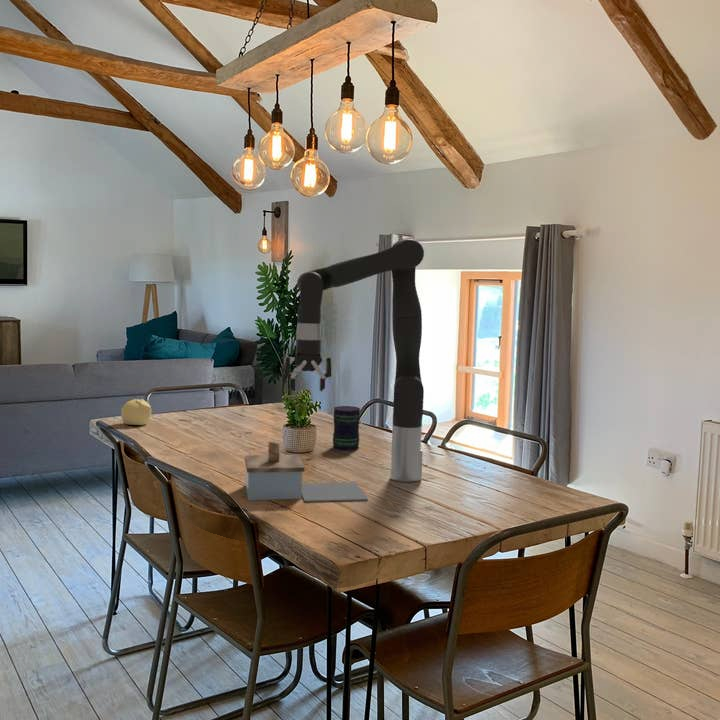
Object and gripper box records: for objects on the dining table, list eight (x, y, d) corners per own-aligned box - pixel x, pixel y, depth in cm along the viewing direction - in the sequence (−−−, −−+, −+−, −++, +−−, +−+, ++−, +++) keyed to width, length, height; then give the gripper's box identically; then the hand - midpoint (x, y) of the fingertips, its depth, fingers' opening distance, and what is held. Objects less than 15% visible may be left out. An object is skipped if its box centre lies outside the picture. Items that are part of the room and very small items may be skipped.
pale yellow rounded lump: (154, 426, 316) (155, 400, 315) (125, 428, 310) (125, 401, 309) (147, 421, 326) (147, 395, 324) (118, 423, 320) (118, 397, 318)
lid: (297, 458, 233) (298, 436, 232) (304, 471, 218) (305, 448, 217) (244, 459, 230) (244, 437, 229) (247, 472, 214) (247, 448, 214)
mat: (355, 483, 237) (355, 482, 237) (367, 500, 219) (367, 499, 219) (297, 485, 233) (297, 483, 233) (304, 502, 215) (304, 500, 215)
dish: (295, 484, 233) (296, 458, 233) (301, 498, 219) (302, 471, 218) (245, 485, 230) (245, 459, 230) (248, 500, 216) (248, 472, 215)
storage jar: (358, 451, 281) (360, 411, 280) (331, 450, 282) (332, 410, 280) (359, 445, 291) (360, 406, 290) (333, 444, 292) (334, 405, 290)
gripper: (329, 337, 239) (328, 389, 241) (283, 336, 236) (282, 388, 238) (333, 339, 232) (332, 392, 233) (286, 338, 229) (285, 392, 230)
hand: (307, 390), depth 236 cm, fingers open, 8 cm apart
